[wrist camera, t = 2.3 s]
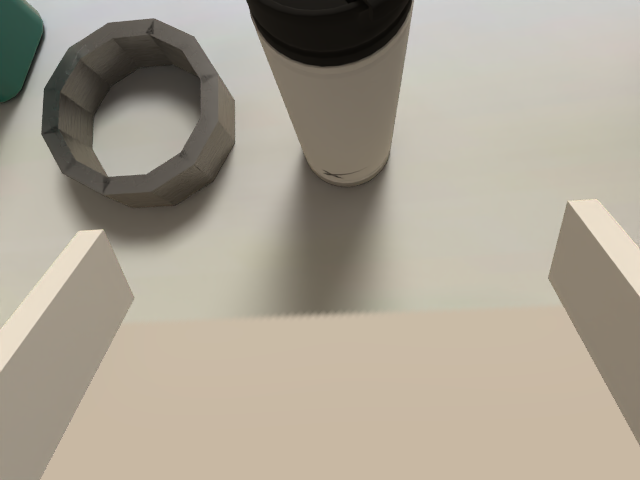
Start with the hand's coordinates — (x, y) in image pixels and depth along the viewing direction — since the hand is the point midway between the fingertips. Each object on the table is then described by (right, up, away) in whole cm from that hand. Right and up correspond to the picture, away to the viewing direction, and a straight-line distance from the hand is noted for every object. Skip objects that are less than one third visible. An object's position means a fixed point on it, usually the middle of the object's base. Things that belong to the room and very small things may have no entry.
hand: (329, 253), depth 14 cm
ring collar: (-13, +9, +22) cm, 27 cm away
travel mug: (+2, +7, +20) cm, 22 cm away
